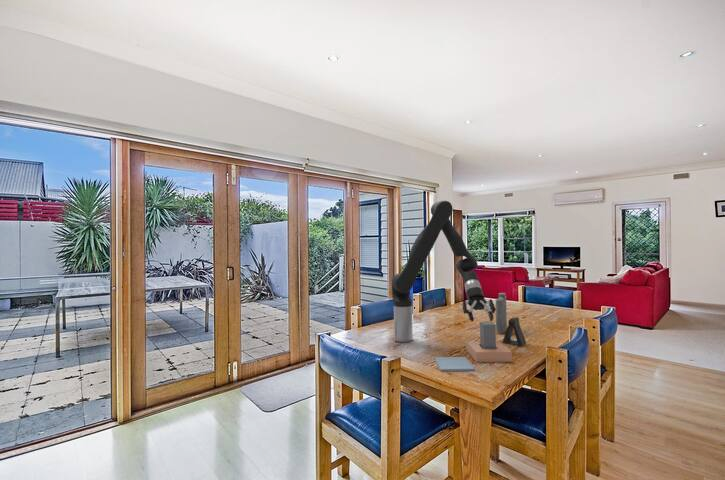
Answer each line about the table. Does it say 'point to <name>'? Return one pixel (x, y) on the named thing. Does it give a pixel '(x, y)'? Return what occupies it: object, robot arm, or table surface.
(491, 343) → the charcoal post
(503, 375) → the table surface
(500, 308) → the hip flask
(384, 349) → the table surface
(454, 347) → the table surface
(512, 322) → the dark grey triangular frame
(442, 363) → the slate pad
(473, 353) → the terracotta cradle
